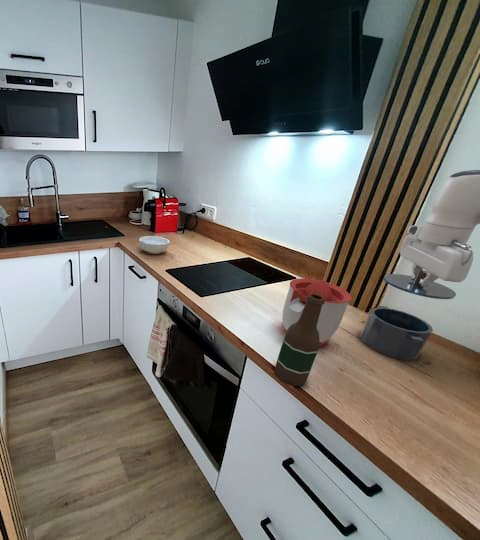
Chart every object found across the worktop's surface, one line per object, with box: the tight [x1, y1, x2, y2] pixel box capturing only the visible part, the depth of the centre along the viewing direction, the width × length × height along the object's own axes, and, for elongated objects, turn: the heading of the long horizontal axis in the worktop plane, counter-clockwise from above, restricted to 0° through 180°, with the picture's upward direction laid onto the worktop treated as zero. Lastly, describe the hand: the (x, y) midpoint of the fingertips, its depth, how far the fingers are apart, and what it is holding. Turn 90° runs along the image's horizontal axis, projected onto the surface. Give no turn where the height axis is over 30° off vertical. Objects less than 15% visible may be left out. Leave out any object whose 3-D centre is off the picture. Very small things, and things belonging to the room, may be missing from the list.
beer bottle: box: [273, 294, 324, 388], centre depth 70 cm, size 8×8×24 cm
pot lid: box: [383, 269, 457, 300], centre depth 79 cm, size 15×15×5 cm
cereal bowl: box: [138, 235, 171, 255], centre depth 160 cm, size 17×17×7 cm
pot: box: [359, 305, 434, 361], centre depth 87 cm, size 14×19×10 cm
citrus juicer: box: [281, 277, 352, 347], centre depth 88 cm, size 16×17×20 cm
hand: (419, 283), depth 80 cm, fingers closed on pot lid, 2 cm apart
